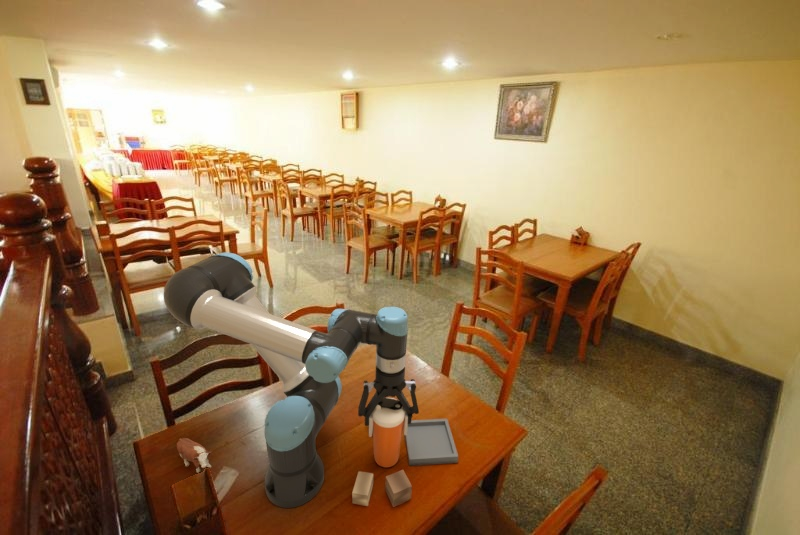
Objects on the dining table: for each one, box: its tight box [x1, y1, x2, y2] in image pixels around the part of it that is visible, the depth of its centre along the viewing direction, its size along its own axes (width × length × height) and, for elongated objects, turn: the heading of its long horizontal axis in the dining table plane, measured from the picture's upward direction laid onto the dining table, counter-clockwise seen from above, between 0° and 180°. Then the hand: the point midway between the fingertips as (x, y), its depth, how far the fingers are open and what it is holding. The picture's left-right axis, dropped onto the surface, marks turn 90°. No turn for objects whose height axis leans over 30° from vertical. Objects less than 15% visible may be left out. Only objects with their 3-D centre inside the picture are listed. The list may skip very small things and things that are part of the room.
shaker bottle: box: [372, 397, 405, 468], centre depth 97 cm, size 9×9×20 cm
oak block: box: [351, 470, 374, 507], centre depth 91 cm, size 4×6×4 cm, turn 171°
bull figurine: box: [176, 437, 213, 474], centre depth 95 cm, size 4×13×8 cm, turn 58°
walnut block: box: [384, 469, 413, 508], centre depth 90 cm, size 5×5×5 cm
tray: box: [404, 418, 459, 467], centre depth 106 cm, size 14×14×2 cm
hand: (387, 431), depth 98 cm, fingers closed on shaker bottle, 9 cm apart
